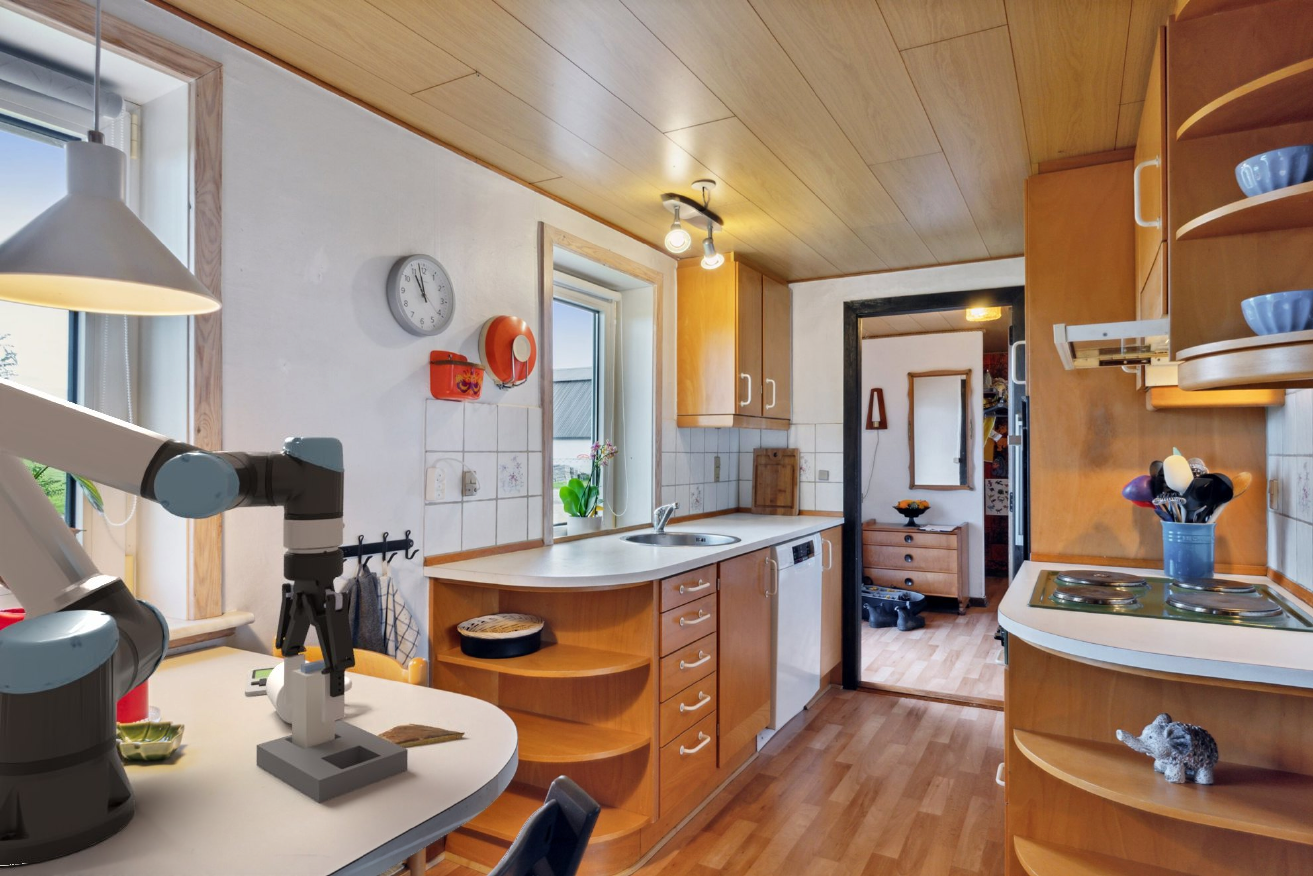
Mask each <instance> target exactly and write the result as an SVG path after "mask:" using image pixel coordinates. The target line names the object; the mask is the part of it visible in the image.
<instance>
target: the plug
mask: <svg viewBox="0 0 1313 876" xmlns="http://www.w3.org/2000/svg"><path fill="white" fill-rule="evenodd" d="M309 662H310V663H305V664H301V669H298V670H293V671H292V724H291V735H292V743H293V744H294V745H296V746H298V747H300V748H302V749H305V748H308V747H312V746H315V745H318V744H321V743H324V742H328V741H331V740H334V739H335V722H336V720H334V721H330V722H327V723H324V722H322V673H321V671H322V670H324V669H325V668H326V667H325V663H324V659H319V660H315V661H309Z"/></svg>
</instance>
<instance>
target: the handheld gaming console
mask: <svg viewBox="0 0 1313 876" xmlns="http://www.w3.org/2000/svg"><path fill="white" fill-rule="evenodd" d="M276 666H277V665H276ZM276 666H275V665H274V666H266V667H258V668H251V669H248V670H247V675H246V681H245V687H244V696H245V697H247V698H249V697H256V696H263V695H264V696H265V695H267V692H266V682H267V679H268V677H269V675H270V673H271V672H272V670H273V669H274V668H275V667H276Z"/></svg>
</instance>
